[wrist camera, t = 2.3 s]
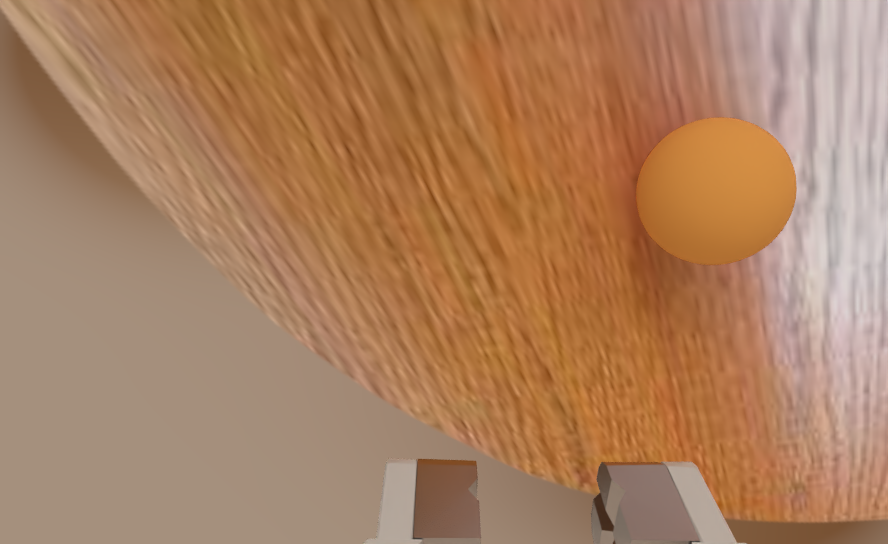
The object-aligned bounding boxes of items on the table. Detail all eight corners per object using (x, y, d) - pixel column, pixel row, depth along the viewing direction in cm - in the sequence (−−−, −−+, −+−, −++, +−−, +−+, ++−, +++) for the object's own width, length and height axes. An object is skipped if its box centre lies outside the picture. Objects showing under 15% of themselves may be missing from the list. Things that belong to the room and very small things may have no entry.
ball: (630, 103, 26) (678, 136, 21) (767, 105, 26) (851, 138, 21) (611, 231, 29) (649, 289, 23) (736, 232, 29) (803, 291, 23)
